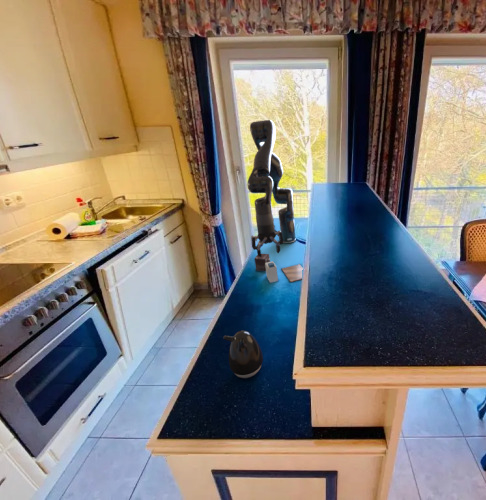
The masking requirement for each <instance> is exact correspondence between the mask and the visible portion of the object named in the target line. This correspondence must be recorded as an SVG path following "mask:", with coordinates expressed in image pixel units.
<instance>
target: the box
mask: <svg viewBox="0 0 486 500" xmlns="http://www.w3.org/2000/svg"><path fill="white" fill-rule="evenodd" d="M253 259H254V266H255V271H256V272H266V267H265V263H267V262H271V257H270V253H261V257H259V256H258V254H256V255H255V257H254V258H253Z"/></svg>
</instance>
